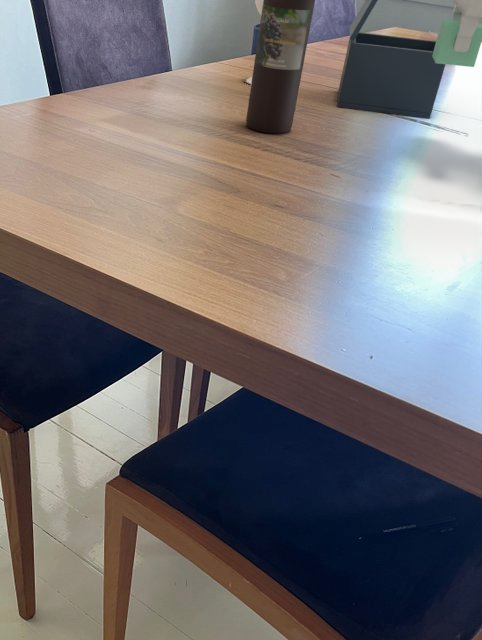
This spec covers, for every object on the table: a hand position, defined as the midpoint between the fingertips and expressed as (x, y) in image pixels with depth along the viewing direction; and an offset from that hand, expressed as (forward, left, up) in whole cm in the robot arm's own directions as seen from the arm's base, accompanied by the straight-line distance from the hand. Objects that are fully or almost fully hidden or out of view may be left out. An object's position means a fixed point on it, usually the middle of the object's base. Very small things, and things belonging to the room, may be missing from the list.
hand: (456, 47), depth 98 cm
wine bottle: (+23, -3, -14) cm, 27 cm away
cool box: (+5, -29, -14) cm, 33 cm away
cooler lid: (+10, -29, +4) cm, 31 cm away
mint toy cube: (0, 0, -2) cm, 2 cm away
